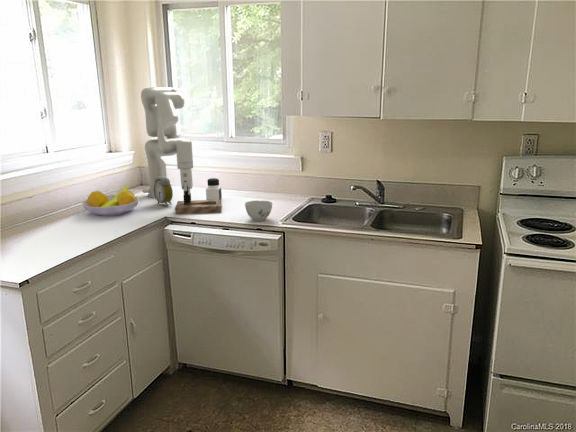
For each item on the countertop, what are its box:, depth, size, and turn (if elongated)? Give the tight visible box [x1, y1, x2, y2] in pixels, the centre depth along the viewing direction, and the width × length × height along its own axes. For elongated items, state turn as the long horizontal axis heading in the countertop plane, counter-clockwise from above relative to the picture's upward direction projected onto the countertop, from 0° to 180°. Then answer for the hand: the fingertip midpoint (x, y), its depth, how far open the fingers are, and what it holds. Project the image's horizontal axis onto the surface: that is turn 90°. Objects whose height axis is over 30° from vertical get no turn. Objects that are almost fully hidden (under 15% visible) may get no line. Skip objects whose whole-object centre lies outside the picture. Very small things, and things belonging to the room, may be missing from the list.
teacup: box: [244, 200, 273, 222], centre depth 221 cm, size 15×12×8 cm
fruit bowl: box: [81, 183, 139, 217], centre depth 236 cm, size 28×27×11 cm
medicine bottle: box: [205, 177, 223, 201], centre depth 257 cm, size 7×7×12 cm
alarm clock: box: [154, 176, 174, 208], centre depth 248 cm, size 12×7×15 cm, turn 41°
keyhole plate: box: [174, 199, 222, 215], centre depth 239 cm, size 22×14×3 cm, turn 97°
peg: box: [185, 188, 192, 205], centre depth 238 cm, size 5×5×12 cm
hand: (187, 201), depth 238 cm, fingers open, 3 cm apart
